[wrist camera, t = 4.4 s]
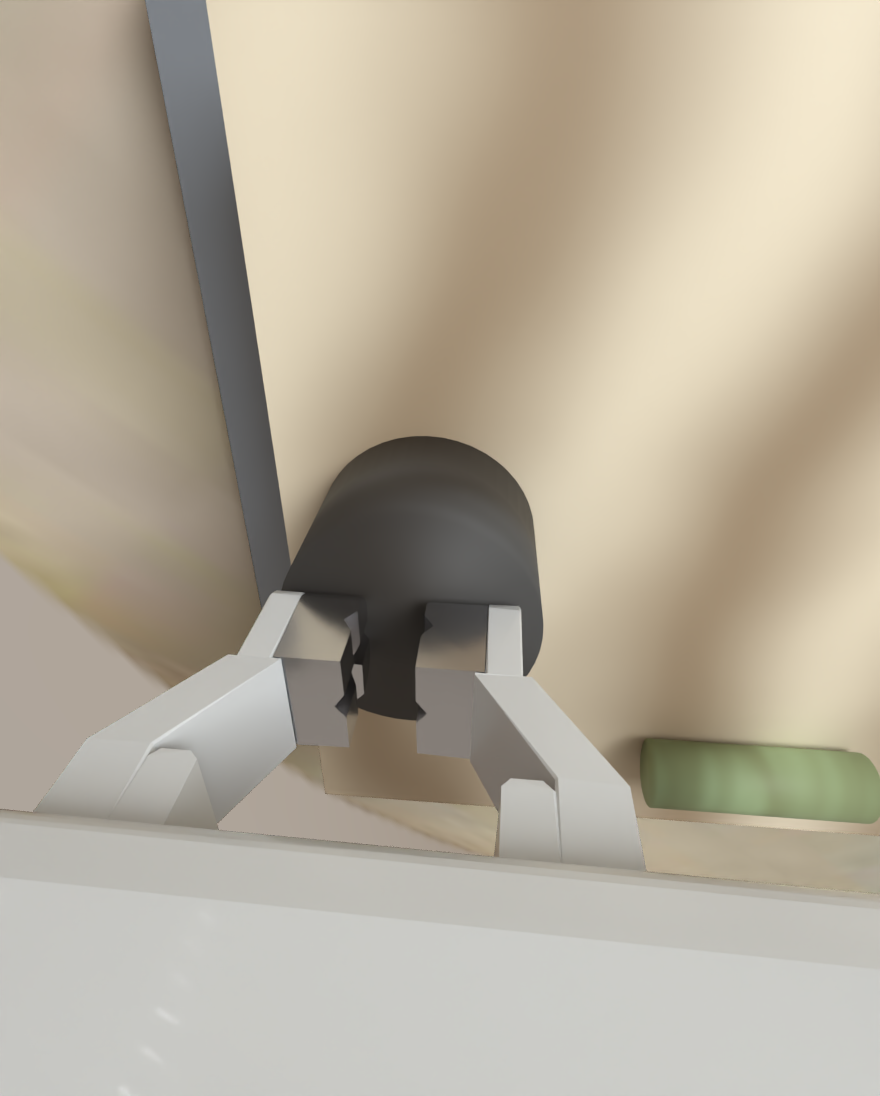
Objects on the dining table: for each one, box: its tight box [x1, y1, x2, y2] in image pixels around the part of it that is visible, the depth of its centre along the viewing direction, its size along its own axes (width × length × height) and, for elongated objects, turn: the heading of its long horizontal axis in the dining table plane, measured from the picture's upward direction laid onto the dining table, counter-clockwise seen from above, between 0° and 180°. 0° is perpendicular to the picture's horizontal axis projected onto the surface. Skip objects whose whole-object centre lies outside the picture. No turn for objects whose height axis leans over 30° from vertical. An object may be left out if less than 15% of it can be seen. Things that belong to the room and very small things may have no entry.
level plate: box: [206, 0, 880, 836], centre depth 11 cm, size 20×18×4 cm
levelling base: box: [145, 0, 291, 608], centre depth 15 cm, size 24×20×4 cm
